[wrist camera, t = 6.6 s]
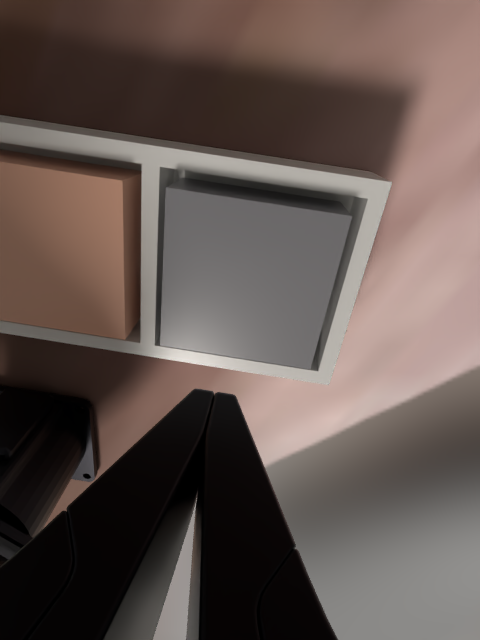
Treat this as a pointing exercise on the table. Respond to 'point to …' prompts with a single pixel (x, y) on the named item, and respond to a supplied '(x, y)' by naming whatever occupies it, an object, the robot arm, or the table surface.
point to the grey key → (248, 270)
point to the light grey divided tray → (157, 173)
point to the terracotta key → (70, 244)
